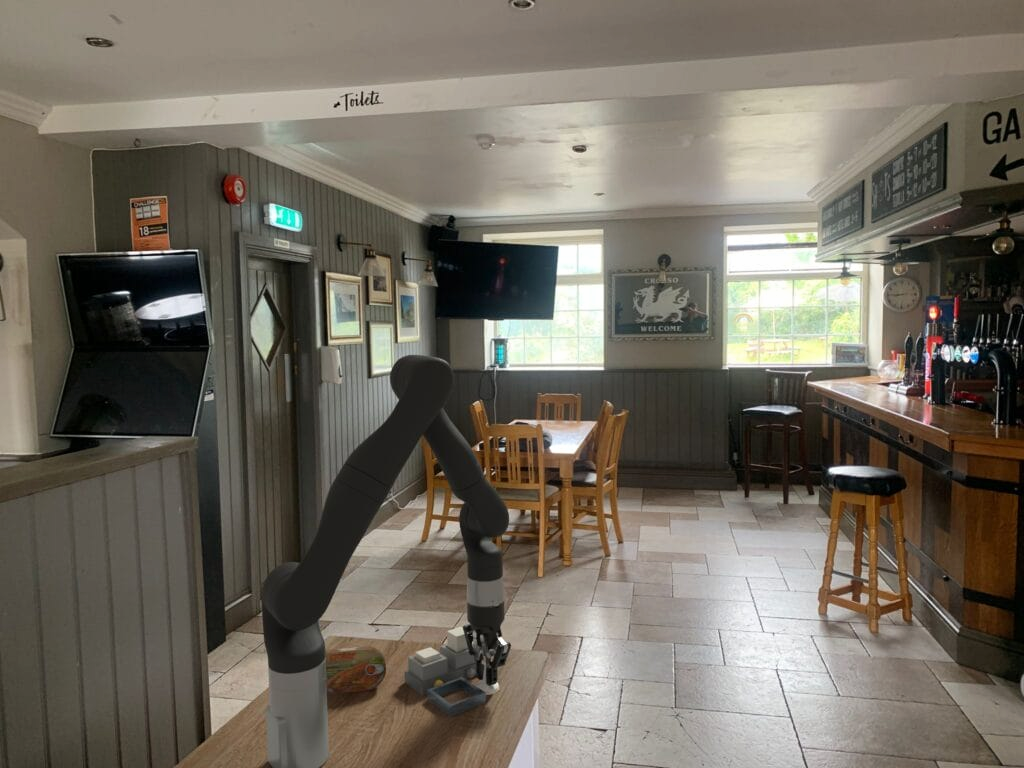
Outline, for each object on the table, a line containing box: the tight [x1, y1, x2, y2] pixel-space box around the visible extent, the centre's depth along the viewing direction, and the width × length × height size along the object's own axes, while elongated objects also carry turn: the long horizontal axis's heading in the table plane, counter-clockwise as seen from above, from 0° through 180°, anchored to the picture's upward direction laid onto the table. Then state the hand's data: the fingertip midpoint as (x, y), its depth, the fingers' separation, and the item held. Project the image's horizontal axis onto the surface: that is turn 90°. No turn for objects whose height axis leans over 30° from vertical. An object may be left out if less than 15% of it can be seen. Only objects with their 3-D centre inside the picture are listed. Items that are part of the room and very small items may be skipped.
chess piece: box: [474, 649, 500, 696], centre depth 143 cm, size 5×5×10 cm
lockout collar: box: [426, 677, 487, 718], centre depth 139 cm, size 8×8×2 cm
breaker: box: [446, 626, 468, 652], centre depth 150 cm, size 4×4×3 cm
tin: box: [325, 645, 387, 695], centre depth 144 cm, size 15×3×8 cm, turn 99°
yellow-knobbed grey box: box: [403, 643, 477, 697], centre depth 148 cm, size 14×8×6 cm, turn 128°
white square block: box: [414, 646, 440, 664], centre depth 146 cm, size 4×4×3 cm
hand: (487, 681), depth 143 cm, fingers open, 2 cm apart
